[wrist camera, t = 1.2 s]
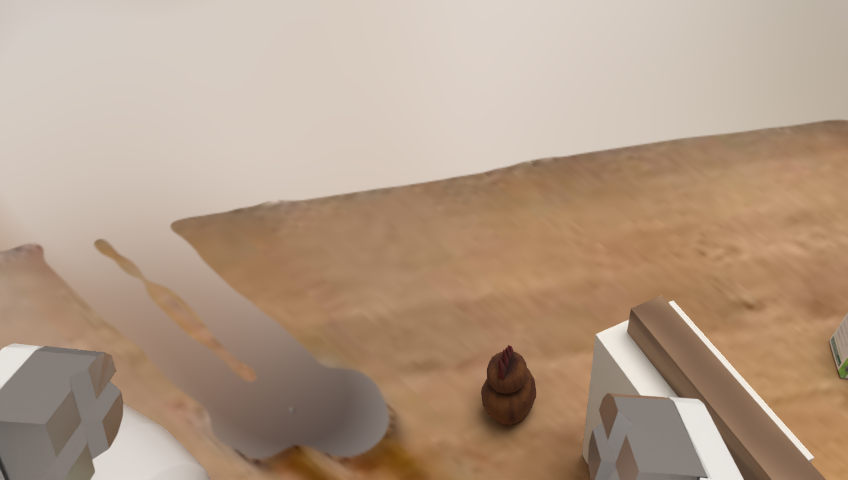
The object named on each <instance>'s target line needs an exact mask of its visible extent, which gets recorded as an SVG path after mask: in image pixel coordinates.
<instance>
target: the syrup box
mask: <svg viewBox="0 0 848 480" xmlns="http://www.w3.org/2000/svg"><path fill="white" fill-rule="evenodd" d="M829 342H830V345H831V348H832V352H833V356H834V359H835V362H836V366H837V369H838V372H839V375H840V377H841V378H847V379H848V313H847V315H846V316H845V318H844V319H843V321H842V322H841V324H840V325H839V327H838V328H837V330H836V331H835V333H834V334H833V335H832V337H831V339H830V341H829Z"/></svg>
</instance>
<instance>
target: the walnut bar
mask: <svg viewBox="0 0 848 480" xmlns="http://www.w3.org/2000/svg"><path fill="white" fill-rule="evenodd" d="M627 333H628V334H629V335H630V336H631V338H632V339H633V340H634V342H635V343H636V344H637V345H638V347H639V348H640V349H641V350H642V352H643V353H644V354H645V356H646V357H647V358H648V359H649V361H650V362H651V363H652V364H653V366H654V367H655V368H656V370H657V371H658V372H659V373H660V375H661V376H662V377H663V378H664V380H665V381H666V382H667V384H668V385H669V386H670V387H671V389H672V390H673V391H674V392H675V394H676V395H677V396H678V397H679V398H690V399H699V400H700V401H701V402H702V403H704V405H705V407H706V409H707V411H708V412H709V414H710V416H711V418H712V420H713V422H714V424H715V426H716V428H717V430H718V431H719V433H720V435H721V437H722V439H723V441H724V443H725V445H726V447H727V449H728V450H729V452H730V454H731V456H732V458H733V460H734V462H735V464H736V466H737V468H738V469H739V471H740V473H741V475H742V477H743V479H744V480H826V479H825V478H824V477H823V476H822V475H821V474H820V473H819V472H818V470H817V469H816V468H815V467H814V466H813V465H812V464H811V463H810V461H809V460H808V459H807V458H806V457H805V456H804V455H803V454H802V452H801V451H800V450H799V449H798V448H797V447H796V446H795V445H794V443H793V442H792V441H791V440H790V439H789V438H788V437H787V436H786V434H785V433H784V432H783V431H782V430H781V429H780V428H779V427H778V425H777V424H776V423H775V422H774V421H773V420H772V419H771V418H770V416H769V415H768V414H767V413H766V412H765V411H764V410H763V409H762V407H761V406H760V405H759V404H758V403H757V402H756V401H755V400H754V398H753V397H752V396H751V395H750V394H749V393H748V392H747V391H746V389H745V388H744V387H743V386H742V385H741V384H740V383H739V381H738V380H737V379H736V378H735V377H734V376H733V375H732V374H731V372H730V371H729V370H728V369H727V368H726V367H725V366H724V365H723V363H722V362H721V361H720V360H719V359H718V358H717V357H716V356H715V354H714V353H713V352H712V351H711V350H710V349H709V348H708V347H707V345H706V344H705V343H704V342H703V341H702V340H701V339H700V338H699V336H698V335H697V334H696V333H695V332H694V331H693V330H692V329H691V327H690V326H689V325H688V324H687V323H686V322H685V321H684V320H683V318H682V317H681V316H680V315H679V314H678V313H677V312H676V311H675V309H674V308H673V307H672V306H671V305H670V304H669V303H668V302H667V300H666V299H665V298H664V297H663V296H662V295H661V296H659V297H657V298H654V299H652V300H650V301H647V302H645V303H643V304H641V305H638V306H636V307H634V308H631V312H630V318H629V323H628V329H627Z"/></svg>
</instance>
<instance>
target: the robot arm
mask: <svg viewBox="0 0 848 480" xmlns="http://www.w3.org/2000/svg"><path fill="white" fill-rule="evenodd" d="M115 372H116V369H115V365H114V362H113V358H112V355H109V354H107V353H105V352H96V351H87V350H77V349H68V348H58V347H49V346H44V347H41V346H32V345H23V344H12V345H9V346H7V347H4V348H3V349H2V350H0V480H210V477H209V475H208V473H207V471H206V470H205V469H204V468H203V466H202V465H201V464H200V463H199V462H198V461H197V460H196V459H195V458H194V457H193V456H192V455H191V454H190V452H189V451H188V450H187V449H186V448H185V447H184V446H183V445H182V444H181V443H180V442H179V441H178V440H177V439H176V438H174V437H173V436H172V435H171V434H170V433H169V432H168V431H167V430H166V429H165V428H164V427H162V426H160V425H159V424H157V423H155V422H154V421H152V420H150V419H149V418H147V417H145V416H144V415H142V414H140V413H139V412H137V411H135V410H134V409H132V408H130V407H129V406H127V405H126V404H124V403H123V399H122V394H121V391H120V390H119V389H118V388H117V387H116V386H115V385H114V384H113V383H111V382H110V379H111V378H112V376H113V375H114V373H115ZM599 412H600V416H601V419H602V423H600V424H599V425H598V426H596V427H595V428H594V429H593V430H592V434H591V438H590V441H589V449H588V466H589V474H590V478H591V480H744V479H743V477H742V475H741V473H740V471H739V469H738V468H737V466H736V464H735V462H734V460H733V458H732V456H731V454H730V452H729V450H728V449H727V447H726V445H725V443H724V441H723V439H722V437H721V435H720V433H719V431H718V430H717V428H716V426H715V424H714V422H713V420H712V418H711V416H710V414H709V412H708V411H707V409H706V407H705V405H704V403H702V402H701V401H700V400H699V399H690V398H675V397H667V398H665V397H656V396H642V395H629V394H615V393H607V394H606V395H605V396H604V398H603V399H602V402H601V405H600V408H599Z"/></svg>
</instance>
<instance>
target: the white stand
mask: <svg viewBox="0 0 848 480" xmlns="http://www.w3.org/2000/svg"><path fill="white" fill-rule="evenodd" d="M668 303H669V304H670V305H671V306H672V307H673V308H674V309H675V311H676V312H677V313H678V314H679V315H680V316H681V317H682V318H683V320H684V321H685V322H686V323H687V324H688V325H689V326H690V327H691V329H692V330H693V331H694V332H695V333H696V334H697V335H698V336H699V338H700V339H701V340H702V341H703V342H704V343H705V344H706V345H707V347H708V348H709V349H710V350H711V351H712V352H713V353H714V354H715V356H716V357H717V358H718V359H719V360H720V361H721V362H722V363H723V365H724V366H725V367H726V368H727V369H728V370H729V371H730V372H731V374H732V375H733V376H734V377H735V378H736V379H737V380H738V381H739V383H740V384H741V385H742V386H743V387H744V388H745V389H746V391H747V392H748V393H749V394H750V395H751V396H752V397H753V398H754V400H755V401H756V402H757V403H758V404H759V405H760V406H761V407H762V409H763V410H764V411H765V412H766V413H767V414H768V415H769V416H770V418H771V419H772V420H773V421H774V422H775V423H776V424H777V425H778V427H779V428H780V429H781V430H782V431H783V432H784V433H785V434H786V436H787V437H788V438H789V439H790V440H791V441H792V442H793V443H794V445H795V446H796V447H797V448H798V449H799V450H800V451H801V452H802V454H803V455H804V456H805V457H806V458H807V459H808V460H809V461H810V462H811V461H812V460H813V458H814V457H813V456H812V454H811V453H810V452H809V451H808V450H807V449H806V448H805V447H804V446H803V444H802V443H801V442H800V441H799V440H798V439H797V438H796V437H795V436H794V434H793V433H792V432H791V431H790V430H789V429H788V428H787V427H786V426H785V424H784V423H783V422H782V421H781V420H780V419H779V418H778V417H777V416H776V414H775V413H774V412H773V411H772V410H771V409H770V408H769V407H768V406H767V404H766V403H765V402H764V401H763V400H762V399H761V398H760V397H759V395H758V394H757V393H756V392H755V391H754V390H753V389H752V388H751V387H750V385H749V384H748V383H747V382H746V381H745V380H744V379H743V378H742V377H741V375H740V374H739V373H738V372H737V371H736V370H735V369H734V368H733V367H732V365H731V364H730V363H729V362H728V361H727V360H726V359H725V358H724V357H723V355H722V354H721V353H720V352H719V351H718V350H717V349H716V348H715V347H714V345H713V344H712V343H711V342H710V341H709V340H708V339H707V338H706V336H705V335H704V334H703V333H702V332H701V331H700V330H699V329H698V328H697V326H696V325H695V324H694V323H693V322H692V321H691V320H690V319H689V318H688V316H687V315H686V314H685V313H684V312H683V311H682V310H681V309H680V308H679V306H678V305H677V304H676V303H675V302H674V301H671V302H668ZM628 323H629V320H627V321H625V322H623V323H620V324H618V325H616V326H614V327H611V328H609V329H607V330H604V331H602V332H600V333H598V334H596V337H595V345H594V354H593V363H592V372H591V380H590V389H589V398H588V406H587V415H586V424H585V433H584V441H583V450H582V456H583V457H584V459H585V461H586V462H587V464H588V449H589V441H590V438H591V434H592V430H593V429H594V428H595V427H596V426H598V425H599V424H600V423H602V419H601V416H600V412H599V408H600V405H601V402H602V399H603V398H604V396H605V395H606V394H607V393H615V394H629V395H642V396H656V397H665V398H667V397H675V398H679V397H678V396H677V395H676V394H675V392H674V391H673V390H672V389H671V387H670V386H669V385H668V384H667V382H666V381H665V380H664V378H663V377H662V376H661V375H660V373H659V372H658V371H657V370H656V368H655V367H654V366H653V364H652V363H651V362H650V361H649V359H648V358H647V357H646V356H645V354H644V353H643V352H642V350H641V349H640V348H639V347H638V345H637V344H636V343H635V342H634V340H633V339H632V338H631V336H630V335H629V334H628V333H627V329H628Z"/></svg>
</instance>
